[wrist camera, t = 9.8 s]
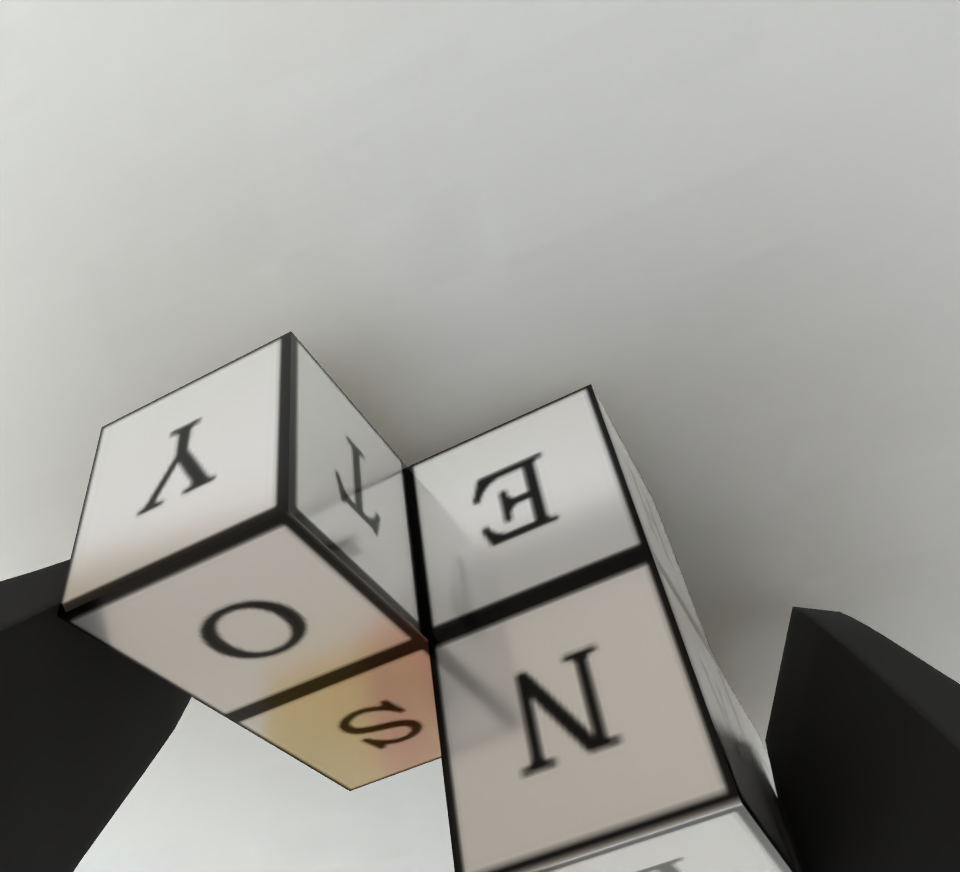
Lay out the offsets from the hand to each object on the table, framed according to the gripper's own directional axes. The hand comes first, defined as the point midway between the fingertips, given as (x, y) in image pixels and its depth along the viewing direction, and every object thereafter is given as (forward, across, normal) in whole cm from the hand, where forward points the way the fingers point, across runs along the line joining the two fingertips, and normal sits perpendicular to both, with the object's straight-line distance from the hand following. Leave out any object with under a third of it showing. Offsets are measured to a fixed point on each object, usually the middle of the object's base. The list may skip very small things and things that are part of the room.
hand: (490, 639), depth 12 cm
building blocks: (+2, 0, +1) cm, 2 cm away
